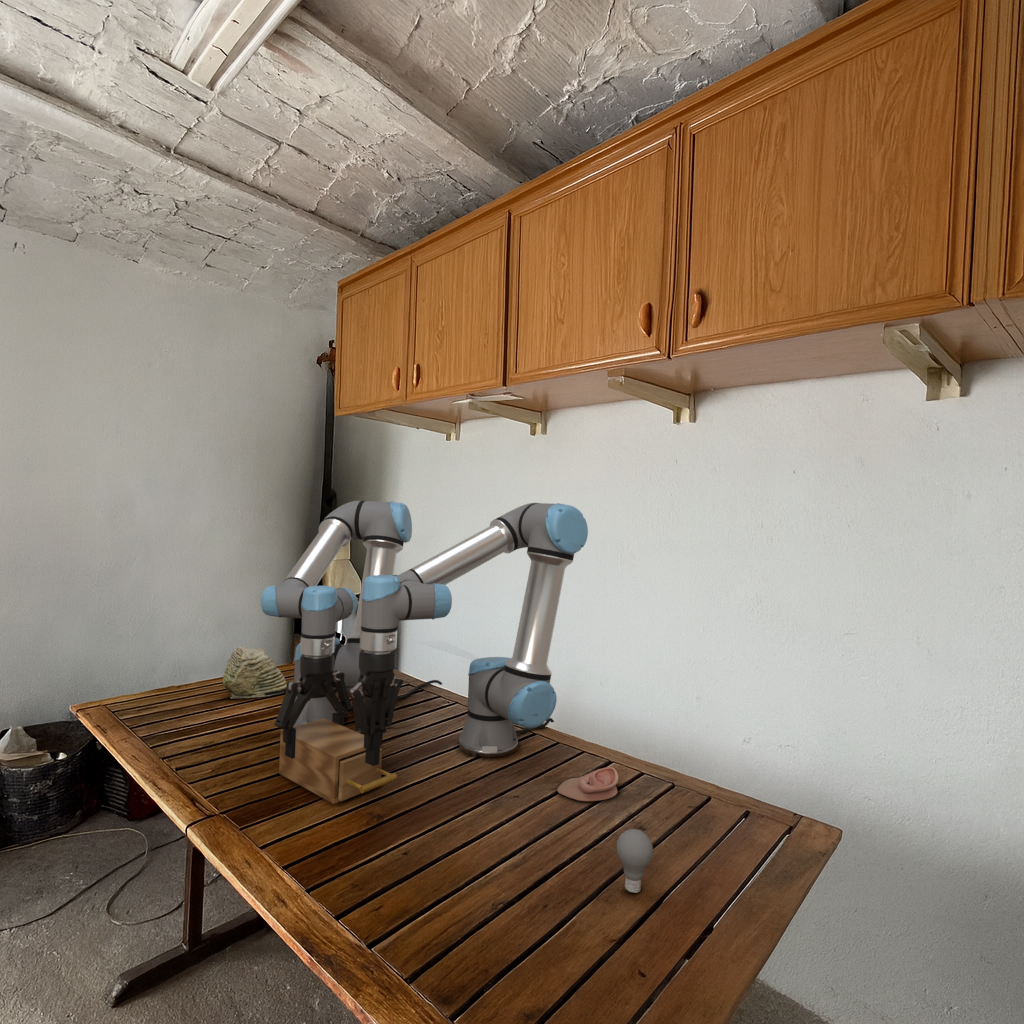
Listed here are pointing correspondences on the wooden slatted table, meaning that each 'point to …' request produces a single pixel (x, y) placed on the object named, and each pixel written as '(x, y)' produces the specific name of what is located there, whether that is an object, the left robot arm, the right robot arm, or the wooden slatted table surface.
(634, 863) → the light bulb
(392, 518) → the left robot arm
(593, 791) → the anatomical model
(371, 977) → the wooden slatted table surface
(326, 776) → the cabinet
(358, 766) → the drawer
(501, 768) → the wooden slatted table surface
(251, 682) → the fossil
